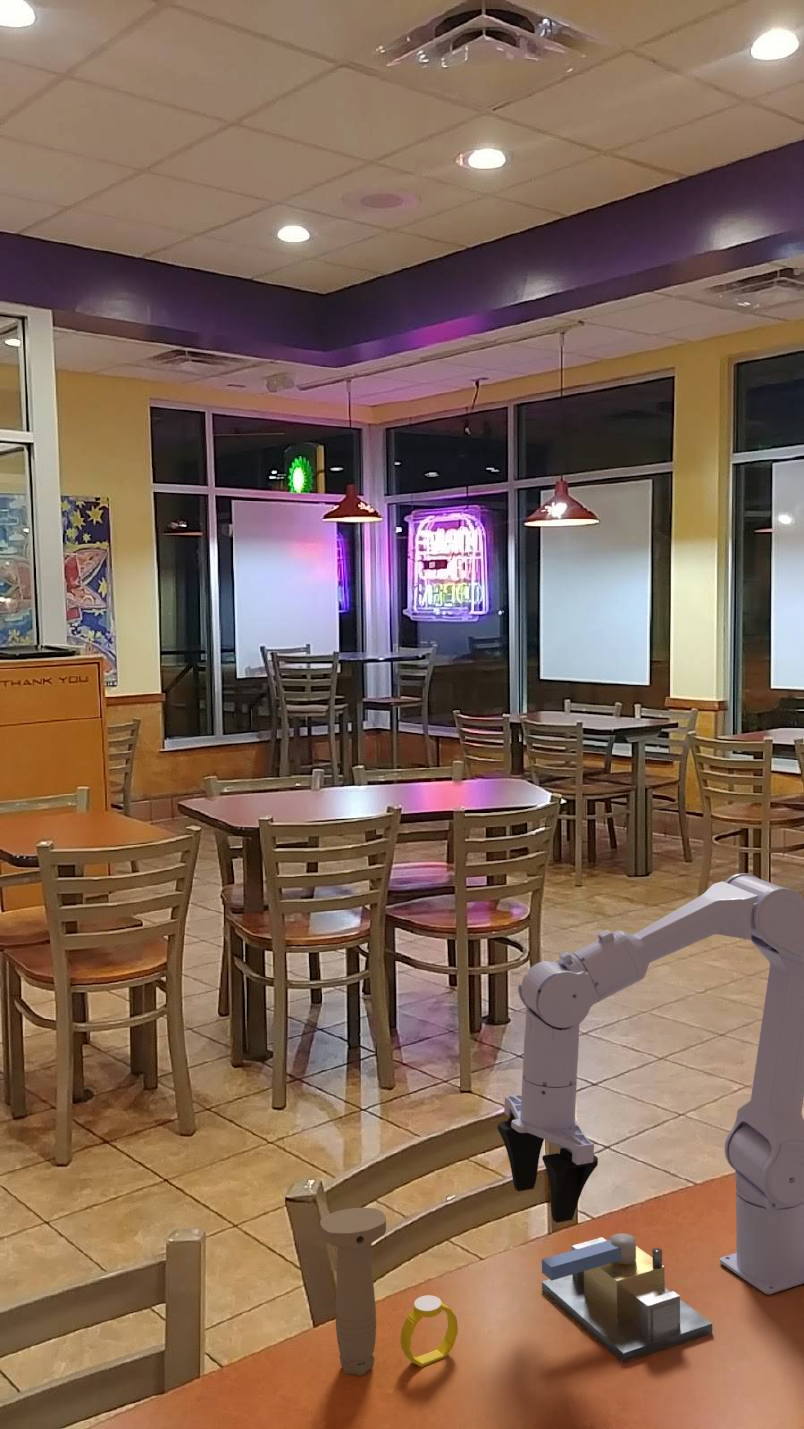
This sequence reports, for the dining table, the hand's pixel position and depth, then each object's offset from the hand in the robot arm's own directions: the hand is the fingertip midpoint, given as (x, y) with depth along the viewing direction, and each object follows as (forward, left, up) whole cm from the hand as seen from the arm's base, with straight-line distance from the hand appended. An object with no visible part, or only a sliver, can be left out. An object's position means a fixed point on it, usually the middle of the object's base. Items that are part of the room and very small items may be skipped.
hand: (543, 1203), depth 129 cm
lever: (-3, +5, -5) cm, 8 cm away
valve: (-7, +5, -11) cm, 14 cm away
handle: (+22, +1, -11) cm, 25 cm away
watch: (+15, +3, -12) cm, 19 cm away
